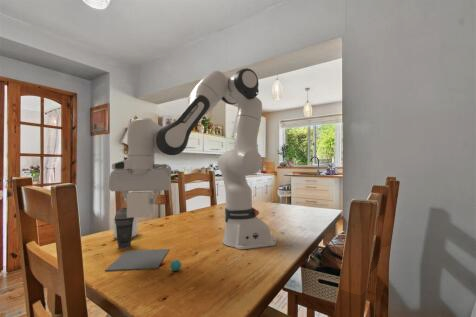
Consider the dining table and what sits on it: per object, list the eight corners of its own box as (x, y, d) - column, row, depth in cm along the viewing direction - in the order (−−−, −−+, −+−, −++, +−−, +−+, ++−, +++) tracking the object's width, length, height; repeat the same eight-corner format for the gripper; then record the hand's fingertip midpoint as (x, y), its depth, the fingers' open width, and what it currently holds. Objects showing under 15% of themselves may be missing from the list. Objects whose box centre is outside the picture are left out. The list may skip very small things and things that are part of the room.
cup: (113, 241, 99) (113, 218, 99) (113, 235, 108) (113, 214, 108) (138, 237, 104) (138, 215, 104) (136, 232, 113) (136, 212, 113)
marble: (181, 268, 72) (181, 257, 72) (180, 272, 69) (180, 262, 69) (171, 268, 72) (171, 258, 72) (169, 273, 69) (169, 262, 69)
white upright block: (153, 212, 83) (153, 190, 83) (147, 217, 76) (147, 193, 76) (134, 213, 82) (134, 191, 83) (126, 217, 75) (126, 193, 76)
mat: (168, 249, 88) (168, 248, 88) (157, 268, 72) (157, 267, 72) (126, 251, 87) (126, 250, 87) (105, 271, 71) (105, 270, 71)
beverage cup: (126, 250, 88) (126, 198, 89) (110, 249, 90) (110, 198, 90) (138, 244, 95) (138, 196, 96) (122, 243, 97) (122, 196, 97)
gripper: (172, 164, 84) (172, 201, 83) (115, 164, 82) (114, 203, 82) (169, 163, 78) (169, 204, 77) (106, 164, 76) (106, 206, 75)
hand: (140, 203), depth 79 cm, fingers closed on white upright block, 7 cm apart
